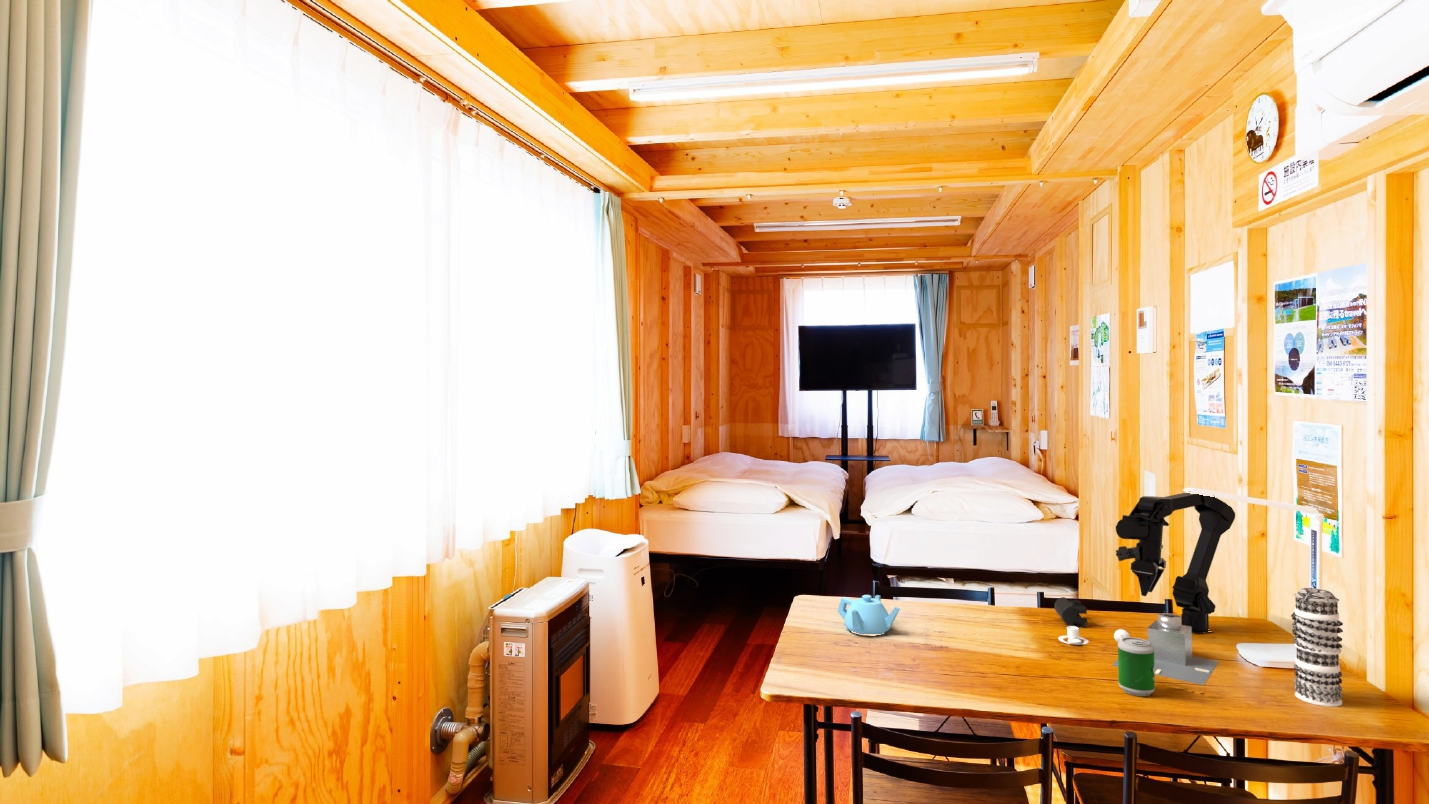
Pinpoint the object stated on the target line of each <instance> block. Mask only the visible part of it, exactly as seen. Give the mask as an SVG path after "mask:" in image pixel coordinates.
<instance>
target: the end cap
mask: <svg viewBox="0 0 1429 804" xmlns="http://www.w3.org/2000/svg"><path fill="white" fill-rule="evenodd" d="M1053 605H1054V607H1053V608H1054V611H1055V613H1057V614H1058V616H1059V617H1060V618H1061V619H1062V621H1063V622H1064V623H1065V624H1066V625H1067V626H1075V627H1082V629H1086V628H1087V625H1086V624H1087V623H1088V619H1087V617H1082V616H1081V615H1080V614H1082V615H1087V614H1088V612H1087V610H1088V609H1087V607H1086V606H1085V605H1084V604H1082V602H1081V601H1080V600H1078V599H1067V598H1066V597H1064V596H1063V597H1059V598H1057V599H1056V600H1055V602H1054V604H1053Z"/></svg>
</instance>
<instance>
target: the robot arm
mask: <svg viewBox="0 0 1429 804" xmlns="http://www.w3.org/2000/svg"><path fill="white" fill-rule="evenodd" d="M1215 497H1216V496H1214V497H1210V496H1203V495H1199V494H1190V493H1186V492H1182V493H1177V494H1172V495H1167V496H1151V495H1150V496H1148V495H1146V496H1145V495H1143V496H1142V497H1140V498H1139V500H1138V502H1137V503H1136V504H1135V506H1134V508H1133V509H1132V510H1131V511H1130V513H1129V514H1128V515H1126V514H1123V515H1122V518H1121V519H1120V520H1118V521H1117V523H1116V525H1115V531H1116V532H1115V533H1116V535H1117V537H1119V538H1120V539H1122V540H1137V541H1138V542H1137V543H1136V545H1135V546H1131V547H1127V546H1126V545H1123V546H1119V547H1118V549H1116V550H1115V553H1116V554H1115V556H1116V557H1117V559H1118V562H1123V561H1126V560H1130V559H1131V560H1132V559H1134V561H1131V562H1130V570H1131V572H1132V573H1133V574H1134V575H1135V576H1136V577H1137V579H1138V584H1139V588H1140V594H1141V596H1142V597H1147V595H1148V593H1152V592H1153V591H1154V589H1155V587H1156V586H1157V584H1158V582H1159V580H1160V579H1161V576H1162V575H1163V574H1164V572H1165V569H1167V560H1165V559H1164V557H1162V550H1163V548H1164V545H1163V533H1164V532H1163V531H1164V527H1168V526H1170V523H1169V522H1168V521H1167V520H1166V518H1167V517H1169V516H1171V515H1172V514H1173V513H1174V512H1175V511H1179V510H1184V509H1187V508H1193V507H1194V511H1196V512H1197V513H1198V514H1199V516H1198V521H1199V525H1200V528H1201V529H1200V532H1199V536H1198V539H1197V542H1196V544H1195V548H1194V551H1193V554H1192V556H1191V559H1190V563H1189V566H1188V568H1187V572H1186V573H1185V574H1183V575H1182V576H1180V575H1177V577H1175V581H1174V584H1173V585H1172V587H1171V588H1172V596H1173V599H1174V603H1175V605H1176V607H1179V608H1181V614H1180V615H1181V616H1180V617H1181V625H1185V626H1190V627H1192V632H1194V633H1193V634H1195V633H1200V634H1204V633H1203V632H1208V631H1213V632H1214V629H1212V628H1209V627H1210V625H1209V620H1210V619H1209V615H1212V613H1213V614H1214V613H1215V610H1216V604H1215V603H1214V602H1213V601H1212V600H1211V598H1209V593H1210V589H1209V585H1208V582H1207V578H1208V575H1209V572H1210V568H1211V566H1212V563H1213V560H1214V557H1215V554H1216V551H1217V549H1218V545H1219V544H1220V543H1219V542H1220V540H1221V539H1220V538H1221V537H1222V535H1223V534H1224V533H1226V532H1227V531H1228V530H1230V529H1231V527H1232V524H1233V523H1234V521H1235V519H1236V512H1235V510H1234V509H1233V507H1232V506H1231V505H1228V504H1227V503H1226V502H1225V501H1223V500H1222V499H1220V498H1218V497H1216V498H1215ZM1208 629H1209V630H1208Z"/></svg>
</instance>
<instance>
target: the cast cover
mask: <svg viewBox="0 0 1429 804" xmlns="http://www.w3.org/2000/svg"><path fill="white" fill-rule="evenodd" d="M1192 635H1193V633H1192V627H1190V626H1185V625H1182V624H1181V616H1180V615H1177V614H1175V613H1169V612H1166V613H1165V612H1162V613H1161V612H1160V613H1158V614H1157V620H1154V621H1153V622H1152V623H1151V624H1150V625H1149V626H1148V627H1147V641H1148V642H1149V643H1150V644H1151V645H1152V646H1153V647H1154V659H1155V660H1159V661H1164V662H1169V663H1174V664H1179V665H1184V666H1186V664H1187V663H1188V662H1189V660H1190V659H1191V658H1192V656H1193V638H1192V637H1193V636H1192Z"/></svg>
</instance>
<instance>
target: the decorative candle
mask: <svg viewBox="0 0 1429 804" xmlns="http://www.w3.org/2000/svg"><path fill="white" fill-rule="evenodd" d="M1293 596H1294V597H1295V607H1294V612H1292V614H1290V617H1291V619H1292V620H1293V622H1292V623H1291V626H1292V634H1293V635H1294V638H1292V640H1293V646H1295V648H1296V656H1295V664H1294V665H1293V667H1294V669H1295V671H1294V676H1295V678H1294V679H1293V682H1294V684H1295V685H1294V686H1293V688H1294V691H1295V692H1294V696H1295V697H1296V698H1297V699H1299V700H1301V701H1303V702H1305V703H1310V704H1313V705H1317V706H1321V707H1330V708H1331V707H1333V708H1334V707H1340V706H1342V705H1343V700H1342V698H1343V693H1342V692H1343V686H1342V685H1340V684H1343V679H1342V678H1341V677H1343V673H1342V672H1341V664H1340V662H1339V661H1340V660H1339V658H1340V657H1339V655H1340V654H1342V648H1343V645H1342V643H1340V642H1342V641H1343V638H1342V637H1340V635H1338V634H1341V633H1343V632H1344V631H1343V629H1342V628H1341V626H1343V625H1344V623H1343V621H1340V620H1339V619H1340V615H1339V614H1340V613H1339V611H1338V609H1339V606H1338V602H1340V599H1339V598H1337V597H1336V596H1335V594H1333V593H1332V592H1331V591H1330V590H1326V589H1323V588H1322V589H1321V588H1313V587H1305V588H1301V589H1299V591H1298V592H1297V593H1296V592H1295V593H1293Z"/></svg>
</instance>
